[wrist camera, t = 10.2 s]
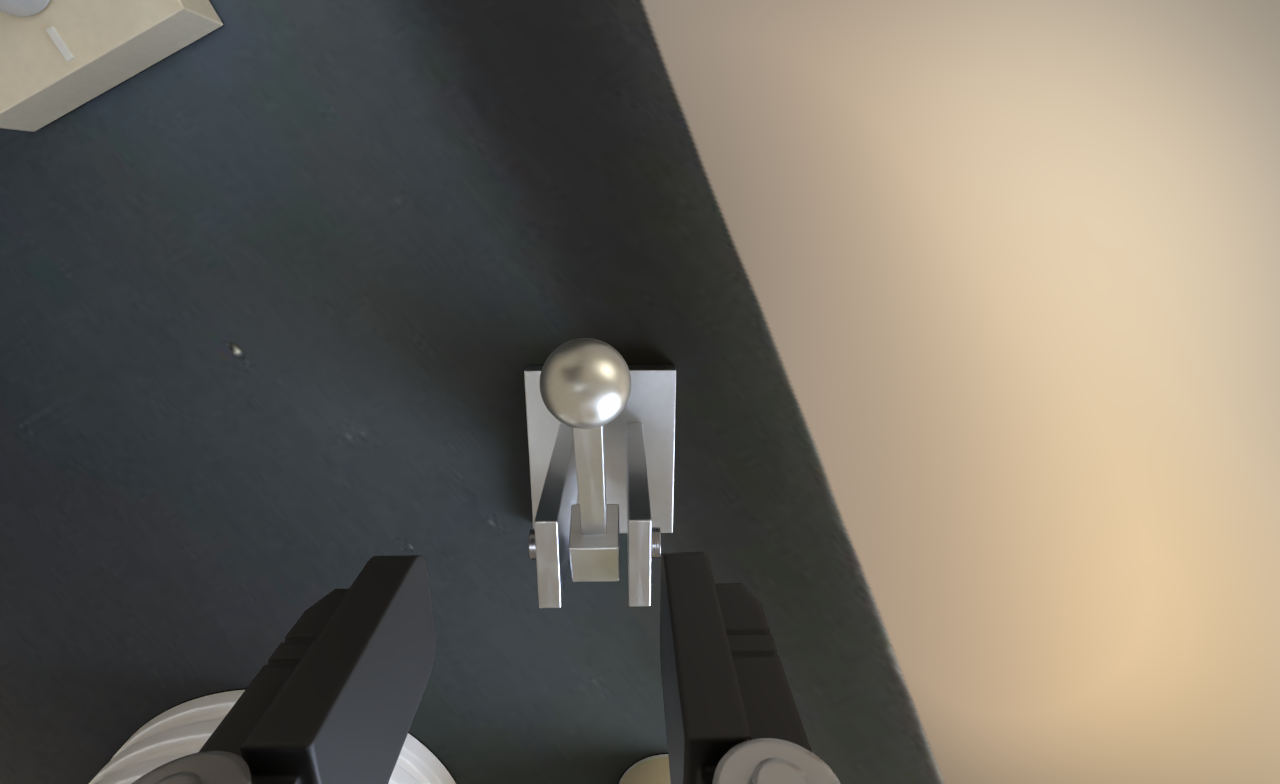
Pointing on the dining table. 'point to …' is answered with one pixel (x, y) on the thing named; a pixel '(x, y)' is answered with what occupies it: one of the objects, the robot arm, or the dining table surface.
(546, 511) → the tap bracket
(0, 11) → the dial
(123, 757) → the plate stack
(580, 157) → the dining table surface
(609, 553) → the tap lever
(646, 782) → the coffee cup
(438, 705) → the dining table surface
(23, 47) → the panel
